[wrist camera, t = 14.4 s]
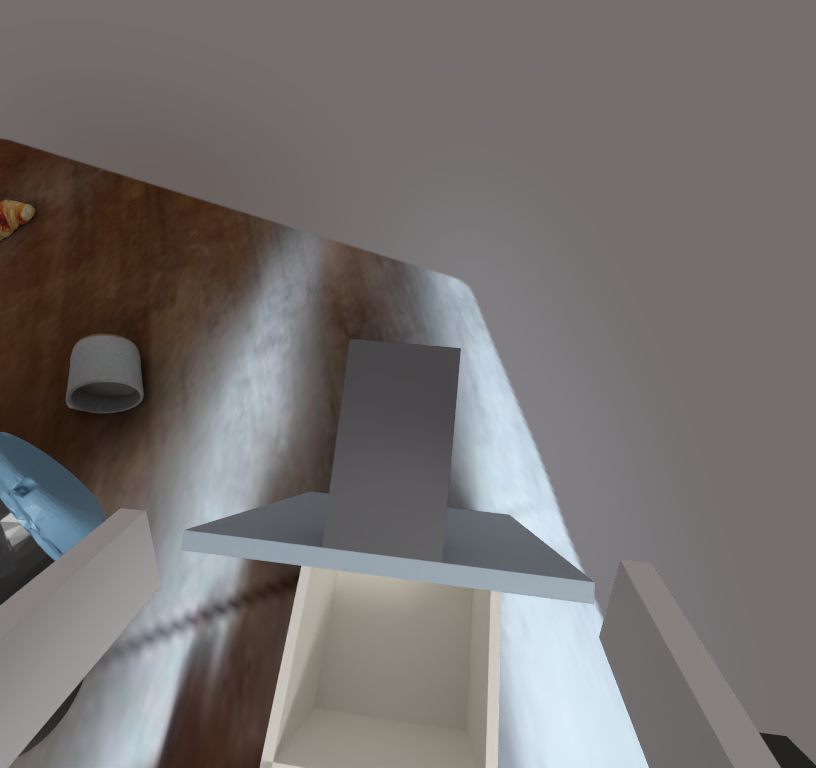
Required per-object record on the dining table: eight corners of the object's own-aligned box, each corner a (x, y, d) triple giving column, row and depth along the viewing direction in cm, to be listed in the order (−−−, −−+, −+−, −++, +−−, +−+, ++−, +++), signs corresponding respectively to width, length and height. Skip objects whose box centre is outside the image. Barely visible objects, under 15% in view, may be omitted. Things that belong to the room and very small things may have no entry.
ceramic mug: (150, 350, 57) (111, 320, 50) (157, 400, 54) (116, 375, 47) (74, 376, 56) (23, 349, 49) (75, 428, 52) (21, 407, 45)
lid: (593, 603, 16) (600, 360, 17) (180, 549, 17) (222, 327, 19) (508, 524, 33) (515, 407, 35) (309, 500, 35) (324, 389, 36)
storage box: (473, 739, 38) (496, 817, 26) (307, 713, 39) (258, 775, 27) (481, 536, 45) (502, 525, 33) (341, 519, 46) (314, 502, 35)
